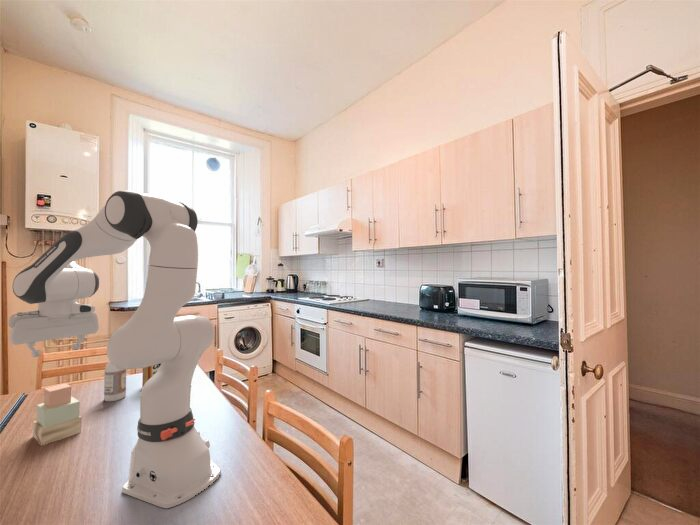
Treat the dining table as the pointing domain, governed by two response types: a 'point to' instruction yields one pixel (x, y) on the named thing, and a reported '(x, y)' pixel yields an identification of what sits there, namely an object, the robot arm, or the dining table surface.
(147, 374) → the baking soda box
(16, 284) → the robot arm
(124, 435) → the dining table surface
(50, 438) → the birch base block
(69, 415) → the sage middle block
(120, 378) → the bath foam
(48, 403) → the terracotta cube
